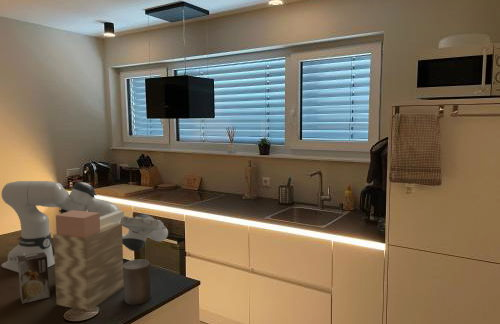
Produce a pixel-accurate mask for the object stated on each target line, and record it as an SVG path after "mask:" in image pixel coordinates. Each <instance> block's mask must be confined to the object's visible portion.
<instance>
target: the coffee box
mask: <svg viewBox="0 0 500 324" xmlns="http://www.w3.org/2000/svg"><path fill="white" fill-rule="evenodd" d="M18 268H19V273H18V278H19V279H18V281H19V293H20V294H19V295H20V300H21V301H20V302H21V304H23V305H24V304H28V303H31V302H36V301H39V300H43V299H47V298H50V297H51V295H50V282H49V281H50V280H49V267H48V264H47V256H46V254H45V253H44V252H42V253H36V254H30V255H25V256H19V257H18Z"/></svg>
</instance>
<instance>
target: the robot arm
mask: <svg viewBox="0 0 500 324" xmlns="http://www.w3.org/2000/svg"><path fill="white" fill-rule="evenodd" d="M95 196H97V193H96V191H95V189H94V187H93V186H92V185H91V184H90V183H87V182H83V181H82V182H80V181H79V182H76V183H74V185H73V186H72V190H71V191H70V192H68V191H67V189H65V188H64V186H63V184H61V183H60V182H57V181H51V180H50V181H49V180H18V181H12V182H7V183H6V184H5V185H4V186H3V188H2V189H1V199H2V200H3V202H4V203H5V204H6V205H8V206H9V207H10V208H12V209H13V210H14V212H15V214H16V215H17V217H18V219H19V222H20V231H21V235H20V237H17V238H16V239H17V241H19V242H18V244H17V245H16V246H15V247H14V248H13V249H11V250H10V251H9V252H8V254H7V261H5V262H3V263H2V264H1V267H2V268H4V269H6V270H10V271H13V272H16V273H18V274H19V268H18V257H19V256H25V255H30V254H36V253H42V252H44V253H45V254H46V256H47V264H48V268H49V267H52V266H53V265H55V261H54V250H53V248H52V247H53V245H52V243H51V242H52V233H51V231H50V218H49V217H48V215H47V214H46V213H44V212H42V211H40V210H39V209H38V206H40V207H44V208H45V207H46V208H60V209H59V210H58V211H59V213H60V214H62V213H65V212H68V211H72V210H75V211H86V212H96V213H100V217H101V216H104V215H107V214H110V213H113V212H115V211H121V208H120V207H119V206H118V205H117V204H115V203H113V202H110V201H108V200H104V199H100V198H97V197H95ZM110 223H120V224H122V228H123V227H124V228H125V229H126V230H127V229H128V231H127V233H126V234H125V233H123V232H122V242H123V246H124V247H125V248H126V249H128V250H129V251H132V252H138V251H141V250H142V249H144V245H145V244H146V243H145V242H146V240H147V238H149V239H150V240H153V241H156V242H164V241H165V240H166V239H167V237H168V236H169V230H168V229H167V227H166V226H165V225H164V222H162V221H161V220H160V219H156V218H154V217H153V216H150V215H149V214H145V213H141V214H138V215H136V216H135V217H130V216H127V215H124V217H123V218H120V219H118V220H115V221H113V222H110Z"/></svg>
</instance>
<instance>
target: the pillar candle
mask: <svg viewBox="0 0 500 324" xmlns="http://www.w3.org/2000/svg"><path fill="white" fill-rule="evenodd" d="M123 278H124V287H123V293H124V294H123V295H124V297H123V298H124V302H125V303H126V304H127V305H135V306H137V305H141V304H145V303H147V302H149V301H150V300H151V299H152V294H151V293H152V289H151V286H152V285H151V262H150V261H149V260H148V259H142V258H141V259H140V258H137V259H132V260H127V261H126V262H124V263H123Z"/></svg>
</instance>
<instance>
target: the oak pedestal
mask: <svg viewBox="0 0 500 324" xmlns="http://www.w3.org/2000/svg"><path fill="white" fill-rule="evenodd" d="M122 233H123V226H122V224H120V222H119V223H108V224H105V225H103V226H100V232H98V233H96V234H93V235H91V236H88V237H86V238H80V237H72V236H64V235H57V233H54V234H52V235H53V236H52V237H53V239H52V240H53V256H54V261H55V264H54V277H55V280H54V281H55V297H56V306H62V307H67V308H73V309H77V308H78V310H82V309H86V310H85V311H88V310H89V311H91V310H92V309H94V308H95V307H96V306H99V305H100V304H101V303H102V302H104V301H106V300H107V299H108V298H110V297H111V296H113V295H114V294H116V293H117V292H118V291H120V290H122V289H124V274H123V264H124V252H123V251H124V250H123V249H124V245H123V242H122ZM90 309H91V310H90Z"/></svg>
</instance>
